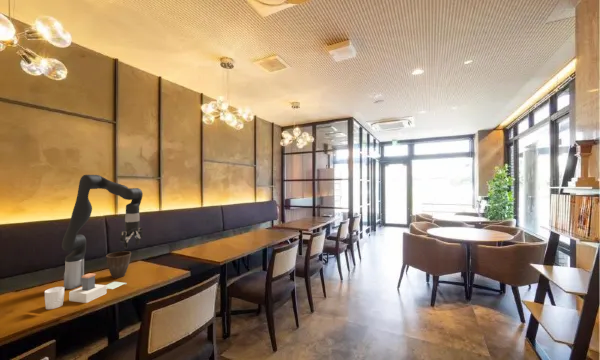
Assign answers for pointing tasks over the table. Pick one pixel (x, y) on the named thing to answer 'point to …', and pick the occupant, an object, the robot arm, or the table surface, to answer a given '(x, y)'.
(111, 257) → the plant pot
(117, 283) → the mat
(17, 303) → the table surface
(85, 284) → the plug
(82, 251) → the robot arm
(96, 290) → the block
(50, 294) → the white cup
